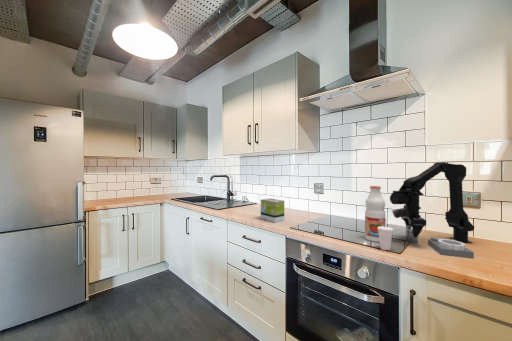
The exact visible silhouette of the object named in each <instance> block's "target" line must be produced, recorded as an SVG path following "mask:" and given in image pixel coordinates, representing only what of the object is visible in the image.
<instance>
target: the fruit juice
mask: <svg viewBox="0 0 512 341" xmlns="http://www.w3.org/2000/svg"><path fill="white" fill-rule="evenodd" d="M381 188H382V187H381V186H379V185H370V186H369V189H370V192H369V194H368V197H367V198H366V200H365V208H366V209H365V211H364V238H365V240H367V241H369V242H375V243H380V240H379V232H378V227H381V226H383V227H385V218H386V211H385V207H386V201H385V199H384V198H383V196H382V193H381Z"/></svg>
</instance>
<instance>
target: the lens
mask: <svg viewBox="0 0 512 341" xmlns="http://www.w3.org/2000/svg"><path fill="white" fill-rule="evenodd" d="M405 243H408V244H412V245H413V244H414V245H418V244H419V235H418V236H417V238H415V237H414V236H413V230H412V226H411V225H406V224H405Z"/></svg>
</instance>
